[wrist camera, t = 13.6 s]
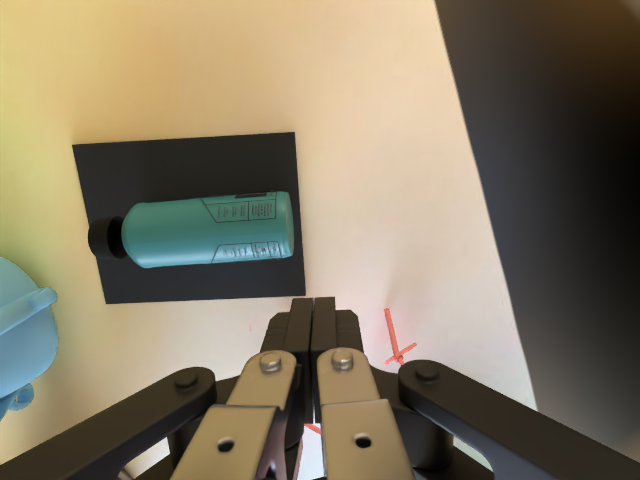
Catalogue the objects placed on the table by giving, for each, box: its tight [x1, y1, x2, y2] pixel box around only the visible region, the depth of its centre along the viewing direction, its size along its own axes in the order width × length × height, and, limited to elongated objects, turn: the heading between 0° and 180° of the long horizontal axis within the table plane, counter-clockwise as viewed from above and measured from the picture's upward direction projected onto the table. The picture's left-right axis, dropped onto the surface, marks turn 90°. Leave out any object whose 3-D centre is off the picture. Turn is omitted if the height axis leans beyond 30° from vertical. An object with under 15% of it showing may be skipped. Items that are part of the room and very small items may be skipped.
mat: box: [72, 132, 306, 304], centre depth 39 cm, size 22×17×1 cm
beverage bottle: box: [88, 190, 294, 268], centre depth 36 cm, size 6×7×20 cm
